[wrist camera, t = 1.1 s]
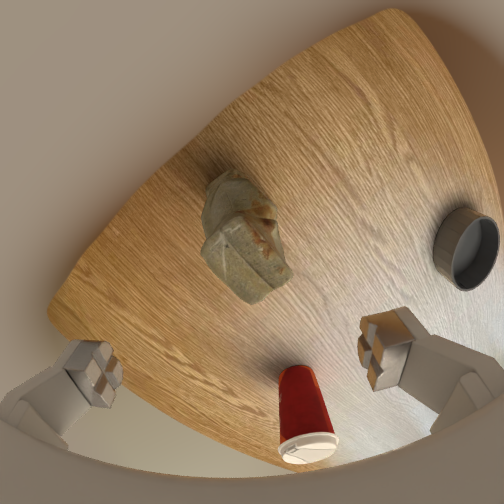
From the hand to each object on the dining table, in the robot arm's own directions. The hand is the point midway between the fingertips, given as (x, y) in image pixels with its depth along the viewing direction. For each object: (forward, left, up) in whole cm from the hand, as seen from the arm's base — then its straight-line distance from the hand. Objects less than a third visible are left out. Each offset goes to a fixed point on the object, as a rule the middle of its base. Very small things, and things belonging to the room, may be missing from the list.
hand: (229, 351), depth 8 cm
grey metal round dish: (+8, +30, -22) cm, 38 cm away
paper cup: (+27, +4, -22) cm, 35 cm away
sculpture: (0, 0, -22) cm, 22 cm away
